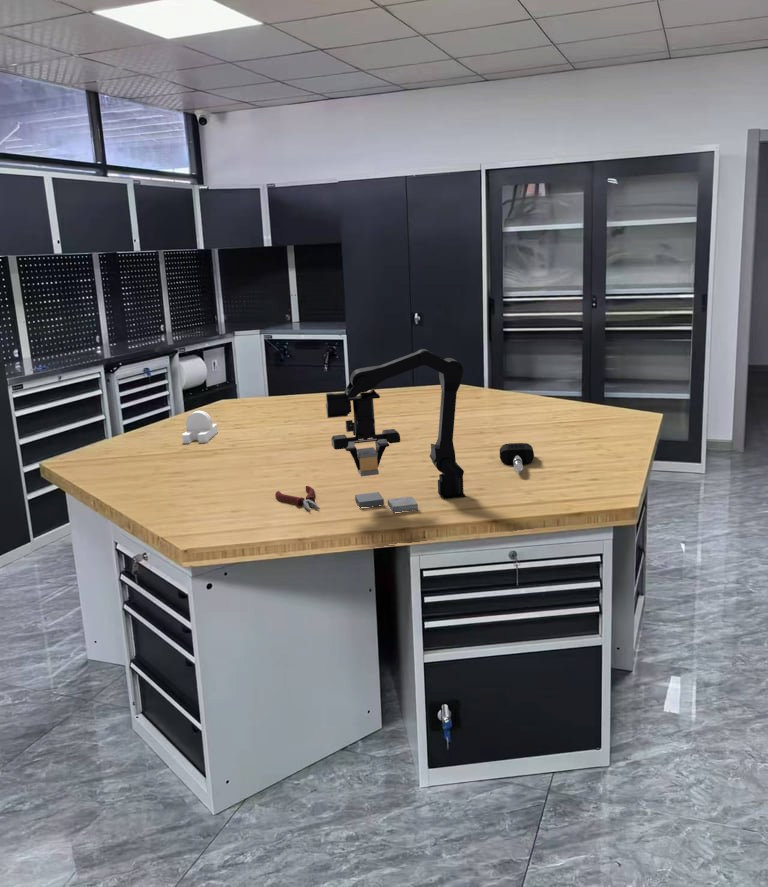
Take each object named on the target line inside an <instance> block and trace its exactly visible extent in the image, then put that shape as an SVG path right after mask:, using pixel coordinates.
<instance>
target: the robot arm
mask: <svg viewBox="0 0 768 887" xmlns="http://www.w3.org/2000/svg"><path fill="white" fill-rule="evenodd" d="M422 366H427V367H428V368H430V369H433V370H435V371H437V372H438V376H439V384H440V388H441V389H440V390H441V393H440V395H441V396H440V409H439V420H438V433H437V434H438V436H437V440H436V442H435V443H430V455H429V458H430V460H431V462H432V464H433V466H434V467H435V468H436V469H437V470H438V472H440V473H441V474H438V475H439V479H437V493H438V494H439V495H440V497H441V498H443V500H449V499H450V500H451V499H457V498H458V499H459V498H464V497H466V494H465V493H464V473H465V471H464V469H463V468H462V466H460V465H459V464H458V462H456V452H455V446H454V441H453V440H454V430H455V429H454V428H455V416H456V406H457V405H456V404H457V393H458V391H459V388H460V386H461V384H462V380H463V376H464V372H465V371H464V366H463V365H462V363H461V362H459V361H457V360H456V359H454V358H451V357H445V358H444V357H442V356H439V355H438V354H435V353H433V352H430V351H429V350H428V349H425V348H421V349H419V350H417V351H415V352H412V353H410V354H407V355H405V356H401V357H398V358H396V359H394V360H391V361H388V362H386V363H383V364H381V365H373V366H367V367H361V368H357V369H355V370H353V371H352V372H351V375H350V378H349V379H350V380H349V382H348V385H347V387H346V388H345V389H344V390H343V392H337V393H336V392H334V393H332V392H328V393H326V394H325V399H326V401H325V402H326V403H325V409H326V417H327V419H334V418H342V417H343V418H345V417H348V416H349V415H350V414H351V413H352V412H353V420H352V419H350V420H349V419H348V420H345V431H346V432H347V433H352V436H350V437H349V436H348V437H347V435H346V434H345V433H344V434H337V435H332V437H331V446H332V448H333V449H334V450H345V451H346V452H349V453H350V454H351V457H352V460H353V462H354V464H355V466H356V469H358V470H359V460H358V454H357V449H358V448H357V447H356V446H355V445H356V444H363V443H371V442H372V443H373V442H375V450H376V451H377V455H378V457H377V463H378V467H379V465H380V463H381V459H382V456H383V454H384V453H385V450H386V449H387V447H388V448H389V447H390V444H398V443H401V435H400V433H399V432H398V430H396V429H395V428H391V429H389V428H388V429H383V430H382V433H376V420H375V410H374V409H375V406H374V399H380V398H381V394H379V393H378V392H376V390H375V389H374V388H376V387H377V386H379V385H380V384H381V383H383V382H385V381H386V380H387V379H390V378H393V377H396V376H398V375H401V374H404V373H407V372H409V371H411V370H414V369H417V368H420V367H422ZM352 410H353V411H352Z"/></svg>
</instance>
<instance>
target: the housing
mask: <svg viewBox="0 0 768 887" xmlns="http://www.w3.org/2000/svg"><path fill="white" fill-rule="evenodd" d="M357 454H358V460H359V470H358V469H357V468H356V469H357V473H358V474H359V475H360V477H367V476H368V477H369V476H377V475H378V476H379V474H380V472H379V466H378V463H377V457H378V455H377V451H376V448H374V446H373V447H363V448H357Z"/></svg>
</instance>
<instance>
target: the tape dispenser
mask: <svg viewBox="0 0 768 887" xmlns="http://www.w3.org/2000/svg"><path fill="white" fill-rule="evenodd" d="M185 428H186V430H185V432H183V433H182V434H181V438H182V439H181V440H182V444H191V443H192V442H193V441H197V442H198V443H199V444H204V443H208V442H209V441H210V440H211V439H212V438H213V437H214V436H215V435H216V434H217V433H218V431H219V430H218V423H213V420H212V417H211V416H210V415H209V414H208V412H206V411H204V410H196V411H194V412H191V413H190V414H189V415H188V416H187V417H186V421H185Z"/></svg>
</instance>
